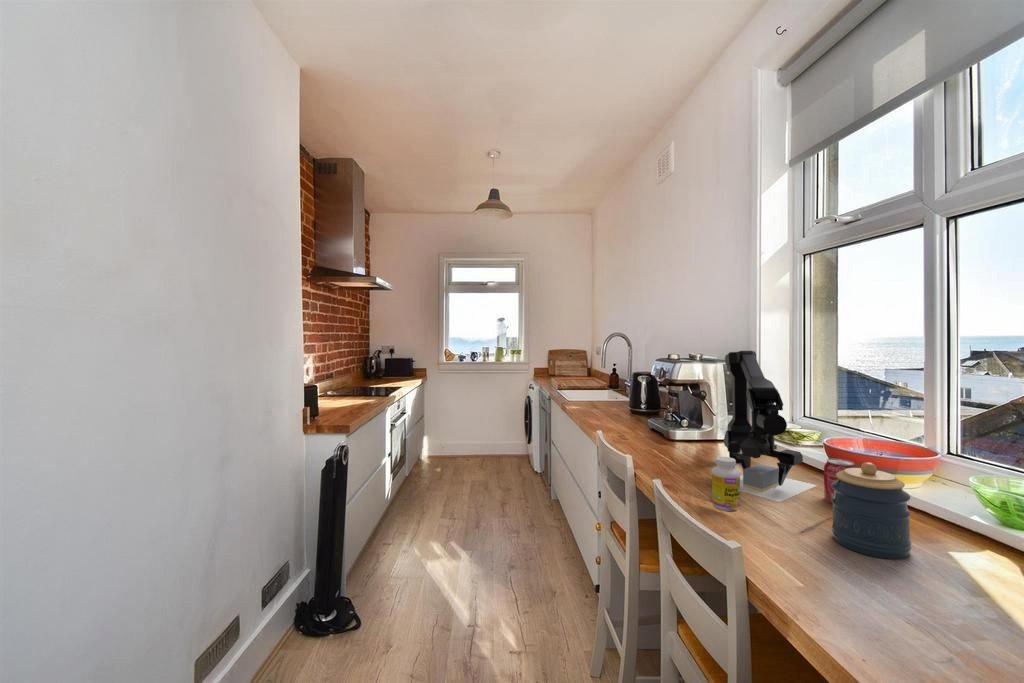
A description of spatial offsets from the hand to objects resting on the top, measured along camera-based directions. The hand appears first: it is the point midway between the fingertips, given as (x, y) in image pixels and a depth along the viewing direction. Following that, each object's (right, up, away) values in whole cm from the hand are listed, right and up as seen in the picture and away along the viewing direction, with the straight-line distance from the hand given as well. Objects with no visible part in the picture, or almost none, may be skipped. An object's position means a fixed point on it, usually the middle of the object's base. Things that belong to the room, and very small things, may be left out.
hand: (763, 481), depth 126 cm
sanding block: (-1, -1, -1) cm, 2 cm away
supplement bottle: (-17, -3, -12) cm, 21 cm away
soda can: (+12, -3, -13) cm, 18 cm away
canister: (+3, -3, -34) cm, 34 cm away
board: (+1, -3, +1) cm, 3 cm away
